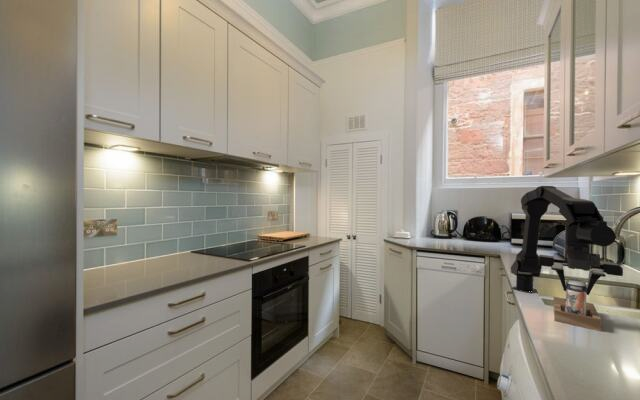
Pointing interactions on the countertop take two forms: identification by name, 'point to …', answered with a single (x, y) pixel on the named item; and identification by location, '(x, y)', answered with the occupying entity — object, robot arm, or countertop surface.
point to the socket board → (577, 315)
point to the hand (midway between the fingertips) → (576, 292)
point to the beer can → (576, 296)
